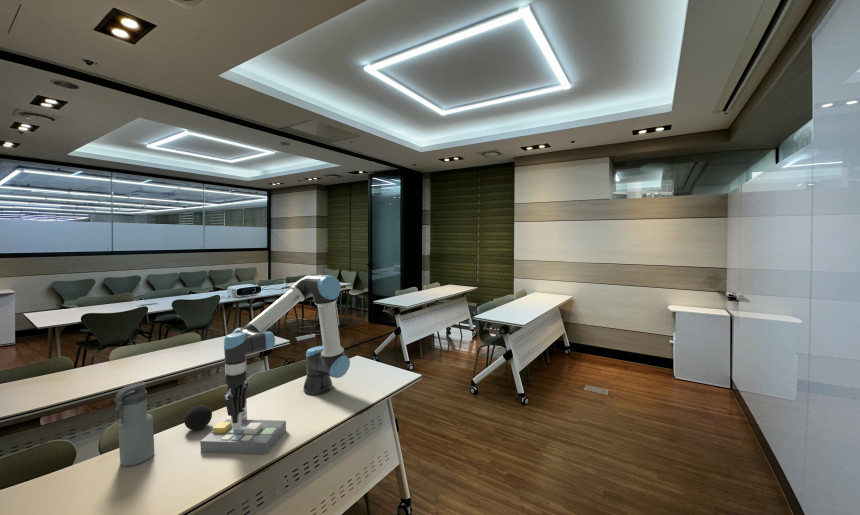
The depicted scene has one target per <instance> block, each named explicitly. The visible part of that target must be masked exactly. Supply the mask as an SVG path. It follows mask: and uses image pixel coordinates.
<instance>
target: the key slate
mask: <svg viewBox="0 0 860 515" xmlns="http://www.w3.org/2000/svg"><path fill="white" fill-rule="evenodd" d="M245 427H246V426H242V428H241V429H240V430H233V429H232V430H231V431H230V432H229V434H241V433H242V432H243V431H244V428H245Z"/></svg>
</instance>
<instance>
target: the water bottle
mask: <svg viewBox="0 0 860 515" xmlns="http://www.w3.org/2000/svg"><path fill="white" fill-rule="evenodd" d="M146 387H147V382H146V381H145V382H144V381H143V382H142V381H141V382H138V383H135V384H131V385H127V386H124V387H122V388H120V390H119V391H117V393H116V394H115V395H114V403H115V404H116V407H115V411H114V412H115V419H116V422H118V423H119V424H118V446H119V447H118V448H119V463H120V465H121V466H123V467H131V466H132V467H133V466H137V465H139V464H142V463H144V462H147V461H148V460H150V459H151V458H152V457H153V456H154V454H155V436H154V434H155V433H154V432H155V430H154V418H153V415H152V414H150V413H148V405H147V404H148V402H147V400H148V391H147V389H146ZM122 406H123V409H122ZM119 412H120V417H119Z"/></svg>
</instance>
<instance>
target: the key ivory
mask: <svg viewBox="0 0 860 515" xmlns="http://www.w3.org/2000/svg"><path fill="white" fill-rule="evenodd" d="M261 429H262V423H250V424H249V425H248V426H247V427H245V428H244V434H252V435H256V434H257V433H258V432H259V431H260V430H261Z"/></svg>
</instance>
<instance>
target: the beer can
mask: <svg viewBox="0 0 860 515" xmlns="http://www.w3.org/2000/svg"><path fill="white" fill-rule="evenodd" d="M243 389H244V388H243ZM247 404H248V403H247V400H246V402H245V408H243V410H244V412H241V416H242V417H241V420H248V409H247V408H248V405H247ZM242 405H243V404H242ZM230 419H232V416H230Z"/></svg>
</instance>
